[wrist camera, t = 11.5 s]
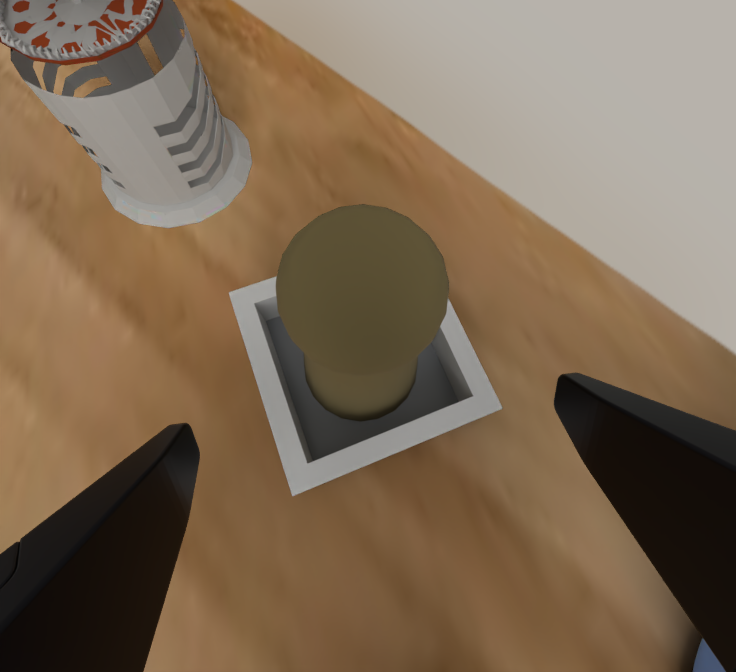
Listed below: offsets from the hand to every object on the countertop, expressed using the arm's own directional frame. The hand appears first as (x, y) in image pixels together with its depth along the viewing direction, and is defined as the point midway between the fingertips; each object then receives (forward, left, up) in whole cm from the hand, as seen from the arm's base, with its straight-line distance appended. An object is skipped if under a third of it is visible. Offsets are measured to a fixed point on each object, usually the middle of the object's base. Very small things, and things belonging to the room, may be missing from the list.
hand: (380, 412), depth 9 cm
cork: (+4, -1, -11) cm, 11 cm away
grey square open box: (+4, -1, -12) cm, 12 cm away
